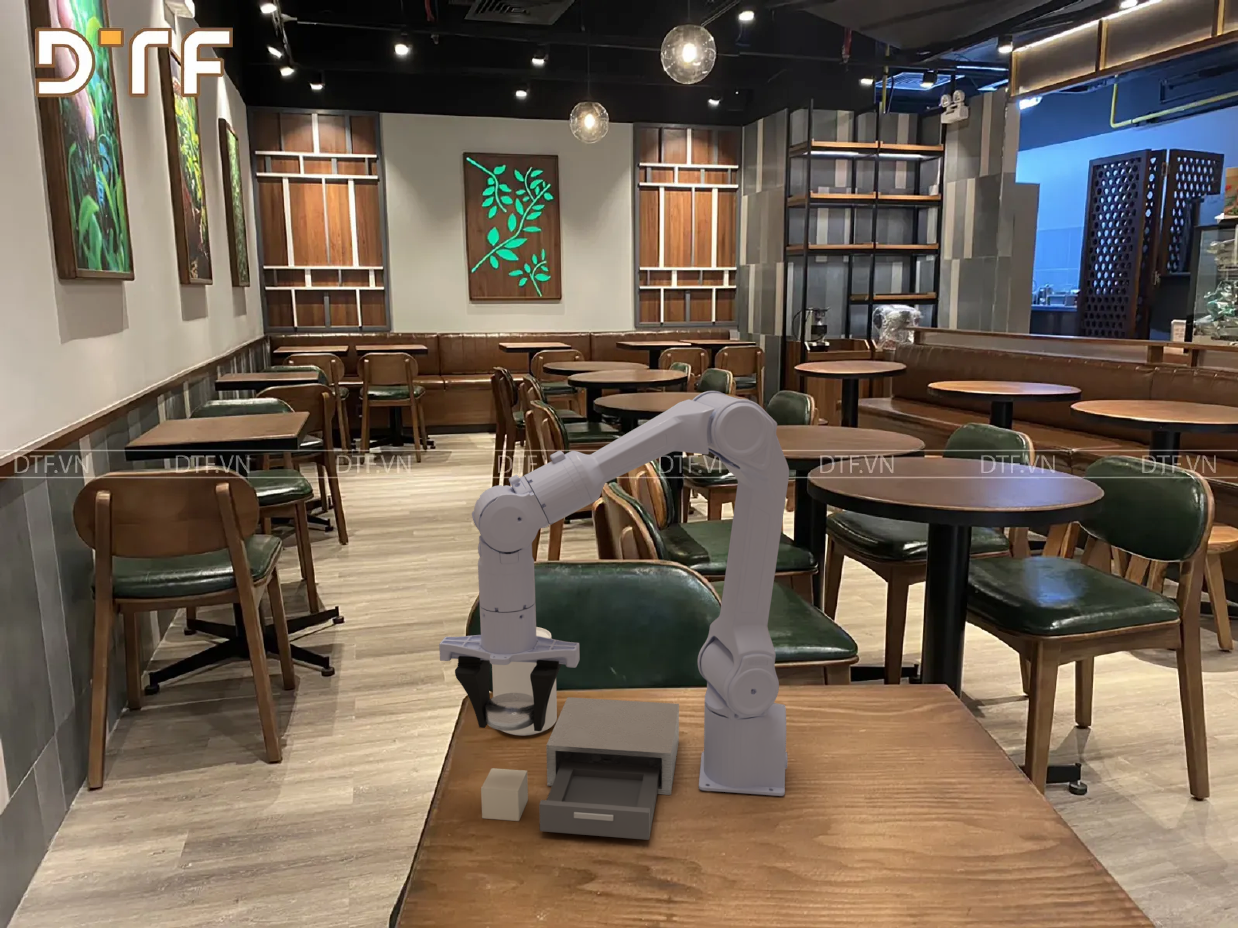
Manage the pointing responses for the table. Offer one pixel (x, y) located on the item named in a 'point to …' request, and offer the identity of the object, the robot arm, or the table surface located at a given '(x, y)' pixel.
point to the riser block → (504, 794)
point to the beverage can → (523, 687)
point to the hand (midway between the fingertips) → (512, 725)
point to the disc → (510, 711)
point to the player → (616, 736)
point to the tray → (601, 800)
